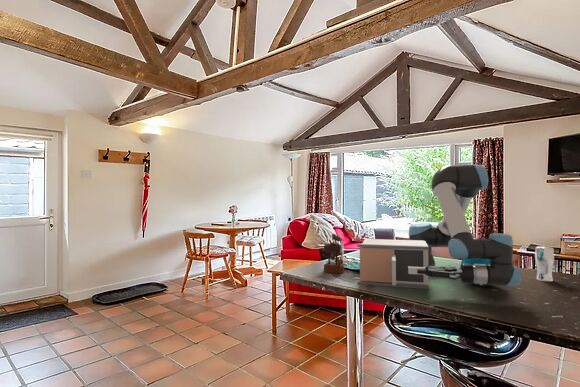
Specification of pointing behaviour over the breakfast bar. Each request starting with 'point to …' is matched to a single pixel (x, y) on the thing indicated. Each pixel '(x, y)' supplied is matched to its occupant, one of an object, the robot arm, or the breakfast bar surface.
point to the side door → (377, 265)
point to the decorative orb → (476, 261)
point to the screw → (342, 252)
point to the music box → (333, 248)
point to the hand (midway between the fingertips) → (408, 270)
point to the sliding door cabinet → (403, 261)
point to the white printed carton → (544, 263)
